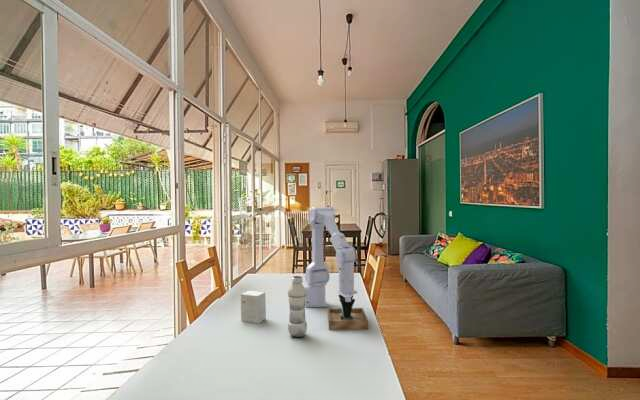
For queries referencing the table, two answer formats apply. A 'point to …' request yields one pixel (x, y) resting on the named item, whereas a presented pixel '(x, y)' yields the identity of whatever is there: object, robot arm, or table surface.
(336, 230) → the robot arm
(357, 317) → the crate
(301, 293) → the plastic bottle
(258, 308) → the small box
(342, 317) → the peg
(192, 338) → the table surface
